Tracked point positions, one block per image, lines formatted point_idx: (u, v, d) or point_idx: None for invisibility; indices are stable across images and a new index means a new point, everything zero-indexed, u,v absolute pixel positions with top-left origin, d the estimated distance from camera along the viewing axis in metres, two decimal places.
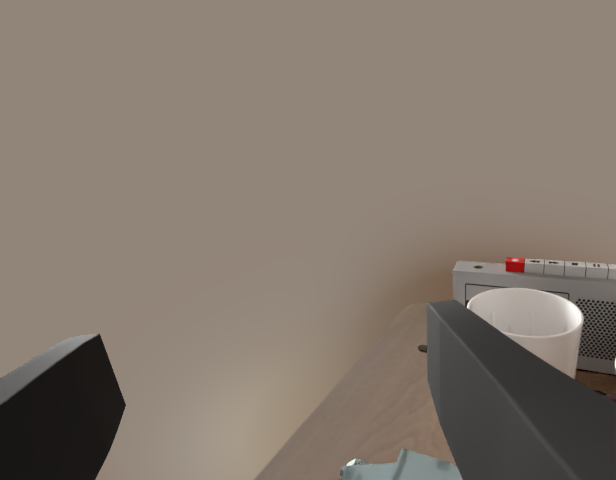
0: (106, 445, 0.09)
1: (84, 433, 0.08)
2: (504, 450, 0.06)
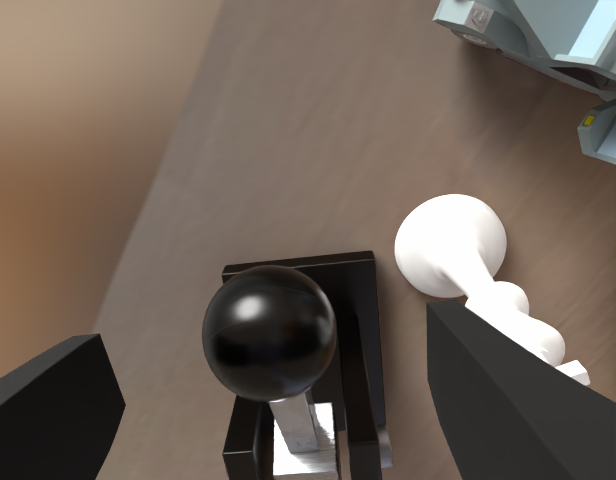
0: (106, 444, 0.09)
1: (84, 433, 0.08)
2: (504, 450, 0.06)
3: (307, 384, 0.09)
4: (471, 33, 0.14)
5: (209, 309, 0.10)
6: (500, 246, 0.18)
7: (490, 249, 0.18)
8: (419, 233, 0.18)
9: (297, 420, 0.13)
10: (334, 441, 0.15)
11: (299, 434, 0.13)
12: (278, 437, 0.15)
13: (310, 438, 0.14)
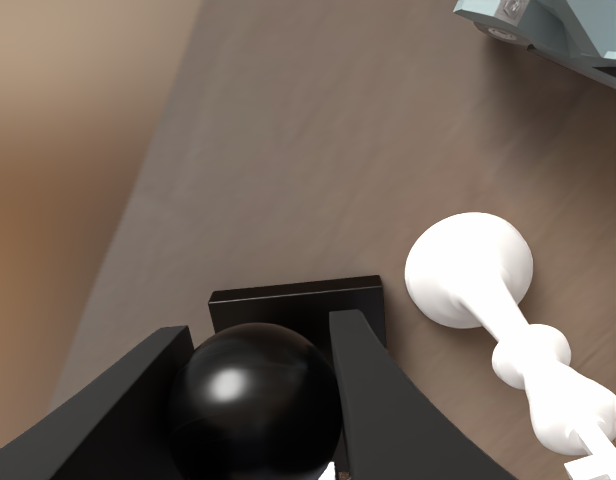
0: None
1: None
2: None
3: None
4: (500, 26, 0.12)
5: (174, 388, 0.07)
6: (526, 272, 0.16)
7: (515, 275, 0.16)
8: (434, 257, 0.16)
9: None
10: None
11: None
12: None
13: None
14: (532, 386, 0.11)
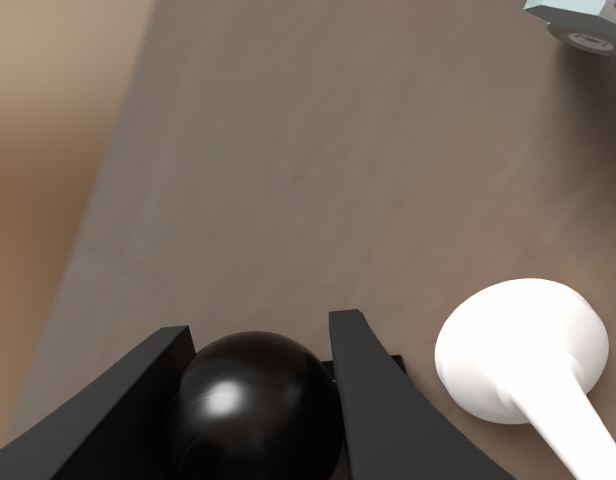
0: None
1: None
2: None
3: None
4: (600, 31, 0.08)
5: None
6: (600, 358, 0.12)
7: (586, 364, 0.12)
8: (477, 340, 0.12)
9: None
10: None
11: None
12: None
13: None
14: None
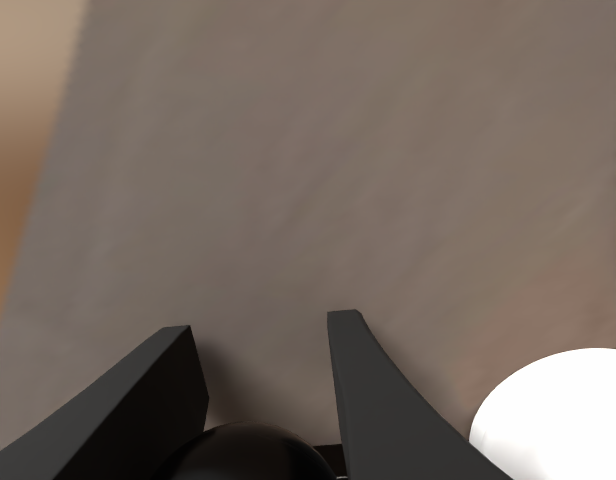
0: None
1: (183, 425, 0.08)
2: None
3: None
4: None
5: (150, 478, 0.06)
6: None
7: None
8: (530, 431, 0.09)
9: None
10: None
11: None
12: None
13: None
14: None
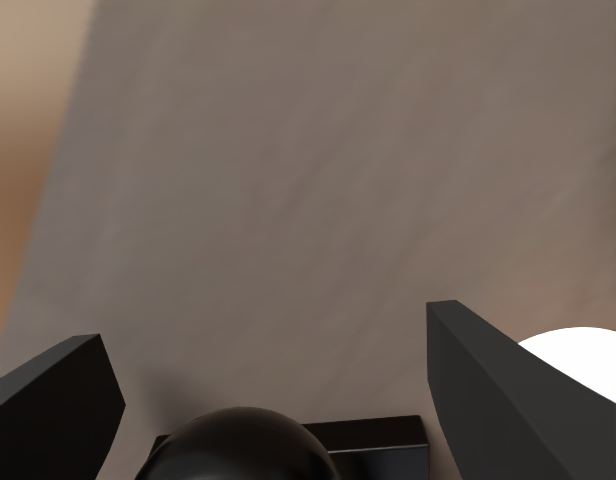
0: (106, 444, 0.09)
1: (84, 433, 0.08)
2: (504, 450, 0.06)
3: None
4: None
5: None
6: None
7: None
8: None
9: None
10: None
11: None
12: None
13: None
14: None
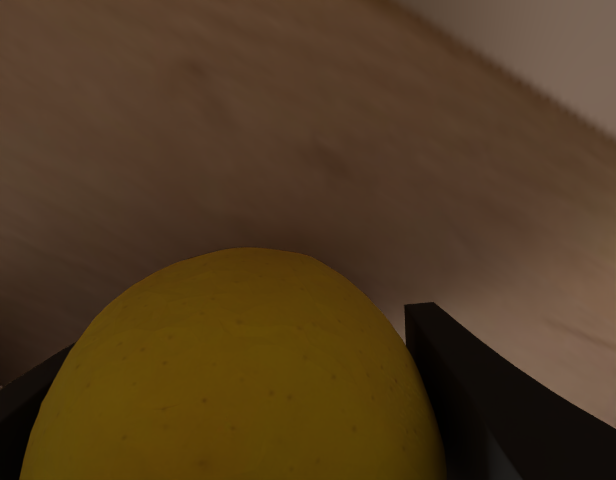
0: None
1: None
2: (469, 453, 0.06)
3: None
4: None
5: None
6: None
7: None
8: None
9: None
10: None
11: None
12: None
13: None
14: None
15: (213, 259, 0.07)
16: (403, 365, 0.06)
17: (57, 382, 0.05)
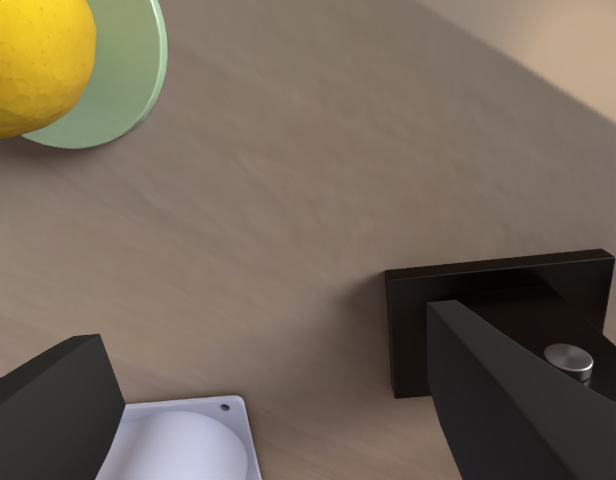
0: (106, 445, 0.09)
1: (84, 433, 0.08)
2: (504, 450, 0.06)
3: None
4: None
5: None
6: None
7: None
8: None
9: None
10: None
11: None
12: None
13: None
14: None
15: (86, 67, 0.13)
16: None
17: None
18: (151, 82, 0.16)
